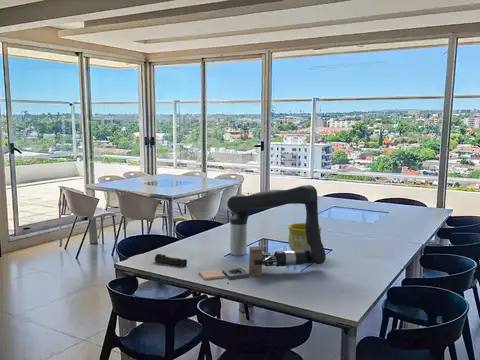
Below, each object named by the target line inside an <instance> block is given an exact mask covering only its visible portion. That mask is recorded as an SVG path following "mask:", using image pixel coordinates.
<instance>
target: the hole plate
mask: <svg viewBox="0 0 480 360" xmlns="http://www.w3.org/2000/svg"><path fill="white" fill-rule="evenodd" d="M221 272H222V273H223V274H224V275H225V278H227V279H228V280H234V279H235V280H237V279H244V278H249V277H250V273H249V272H247V271H246V270H245V269H244V268H242V267H237V268H228V269H226V268H225V269H222V271H221Z"/></svg>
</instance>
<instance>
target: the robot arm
mask: <svg viewBox="0 0 480 360" xmlns="http://www.w3.org/2000/svg"><path fill="white" fill-rule="evenodd" d="M290 204H291V205H292V204H294V205H300V204H301V205H304V206H305V207H304V208H305V213H306V216H305V223H306V224H305V231H306V238H307V243H308V245H310V248H311V250H305V251H292V250H276V251H274V253H273V254H271V253H270V252H262V260H255V261H254V264H255V265H262V266H264V267H265V268H266V267H280V268H281V267H292V266H302V265H305V264H309V265H310V264H313V265H322V264H324V263H325V261H326V257H327V256H326V250H325V247H324V244H323V242H322V237H321V236H320V235H321V233H320V232H321V230H319V226H320V225H319V211H318V208H319V207H318V190H317V189H316V187H315V186H313V185H312V184H311V185H310V184H306V185H303V184H302V185H300V186H296V187H293V188H287V189H271V190H270V189H269V190H264V191H260V192H256V193H251V194H248V195H246V194H243V193H242V194H241V193H240V194H236V195H232V196H231V197H229V198H228V200H227V203H226V206H227V208H228V209H229V211H231V212H233V215H232V216H231V218H230V237H229V238H230V239H229V240H230V241H229V242H230V243H229V244H230V248H229V249H230V250H229V251H230V254H231V255H232V256H245V255H247V252H248V250H247V249H248V248H247V246H248V243H247V242H248V218H249V215H250V210H251V209H252V210H253V209H254V210H258V209H272V208H278V207H283V206H285V205H290Z"/></svg>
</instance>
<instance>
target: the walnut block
mask: <svg viewBox="0 0 480 360" xmlns="http://www.w3.org/2000/svg"><path fill="white" fill-rule="evenodd" d="M262 253H263V249H262V248H261V246H260V245H259V246H256V245H255V246H249V254H248V255H249V257H248V260H249V261H248V262H249V263H248V264H249V267H248V268H249V270H248V273H249V276H251V277H257V276H262V273H263V272H262V269H263V267H262V266H263V264H262V265H255V264H254V261H255V260H262Z"/></svg>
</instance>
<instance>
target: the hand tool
mask: <svg viewBox="0 0 480 360" xmlns="http://www.w3.org/2000/svg"><path fill="white" fill-rule="evenodd" d="M154 262H156V263H158V264H169V265H174V266H179V267H183V268H186V267H187V265H188V260H187V259H186V258H185V259H183V258H179V257H178V258H177V257H171V256H166V254H163V253H157V254H155V256H154Z"/></svg>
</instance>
